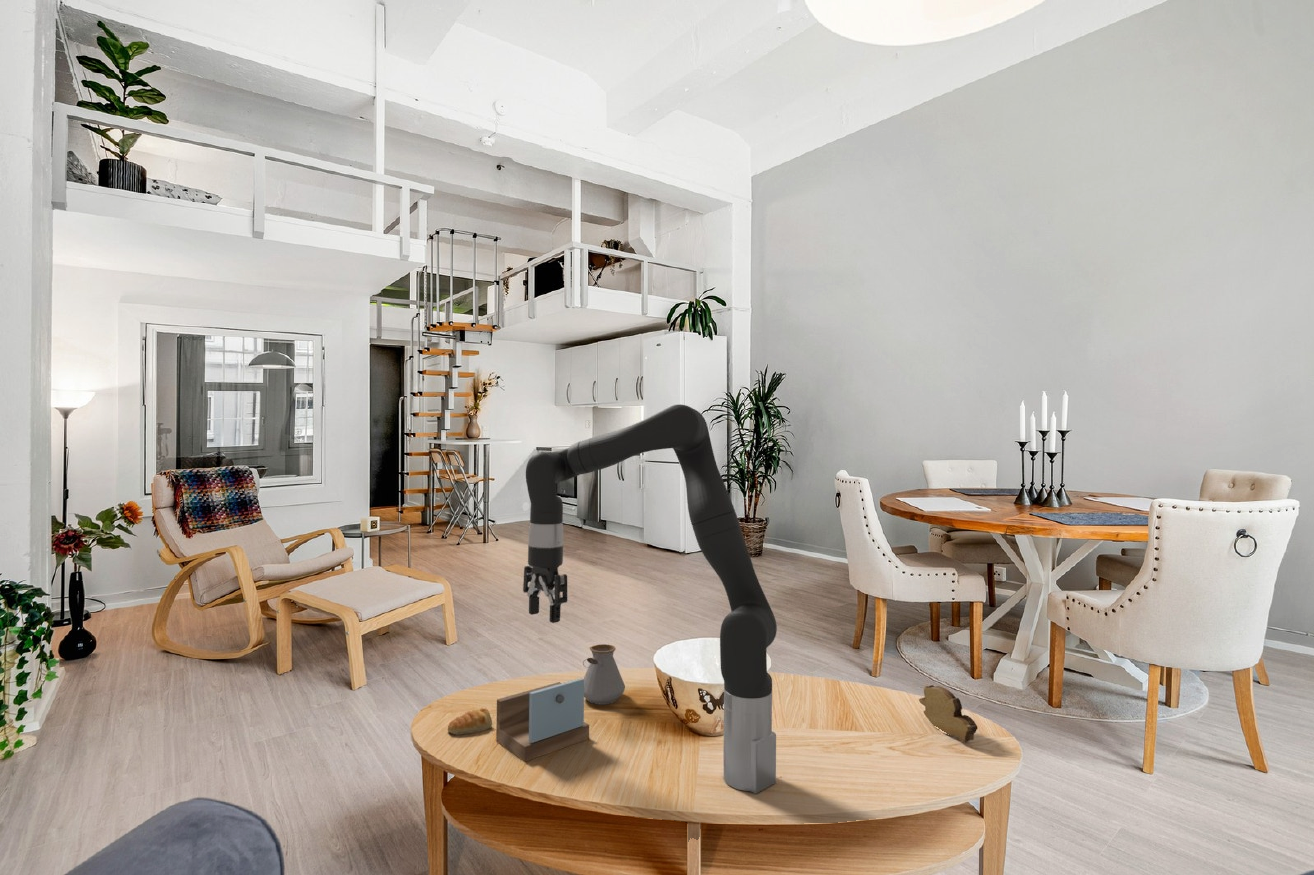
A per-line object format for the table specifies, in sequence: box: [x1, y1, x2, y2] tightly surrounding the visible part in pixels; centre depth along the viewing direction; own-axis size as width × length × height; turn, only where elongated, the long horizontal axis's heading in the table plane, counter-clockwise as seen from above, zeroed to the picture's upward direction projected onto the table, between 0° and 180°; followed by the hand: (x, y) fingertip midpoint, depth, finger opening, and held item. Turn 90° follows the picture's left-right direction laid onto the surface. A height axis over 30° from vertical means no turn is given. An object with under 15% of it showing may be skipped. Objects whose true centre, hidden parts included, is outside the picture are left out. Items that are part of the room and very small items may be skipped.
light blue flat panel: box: [529, 677, 585, 743], centre depth 135 cm, size 2×13×10 cm, turn 132°
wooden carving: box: [918, 684, 979, 743], centre depth 145 cm, size 16×5×10 cm, turn 20°
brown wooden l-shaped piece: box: [495, 681, 590, 762], centre depth 140 cm, size 12×16×9 cm
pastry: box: [447, 707, 493, 736], centre depth 145 cm, size 9×7×4 cm
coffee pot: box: [582, 643, 626, 705], centre depth 158 cm, size 21×12×15 cm, turn 171°
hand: (543, 617), depth 140 cm, fingers open, 8 cm apart
